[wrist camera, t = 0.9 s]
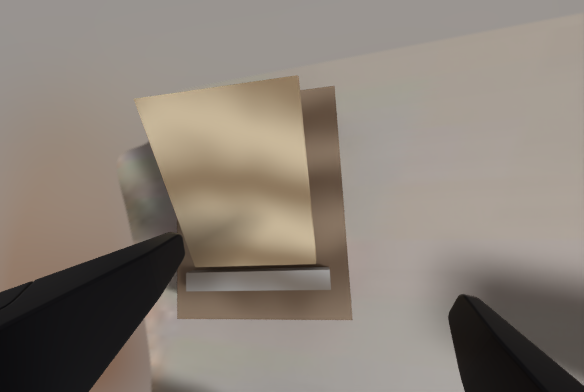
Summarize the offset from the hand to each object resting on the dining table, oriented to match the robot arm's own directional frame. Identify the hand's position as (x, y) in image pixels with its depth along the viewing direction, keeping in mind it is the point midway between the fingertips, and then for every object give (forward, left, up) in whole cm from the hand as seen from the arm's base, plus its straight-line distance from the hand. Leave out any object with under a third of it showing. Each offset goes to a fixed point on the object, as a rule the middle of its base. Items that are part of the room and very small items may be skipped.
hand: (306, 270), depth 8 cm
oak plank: (-4, +6, -8) cm, 11 cm away
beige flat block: (-4, +5, -16) cm, 18 cm away
